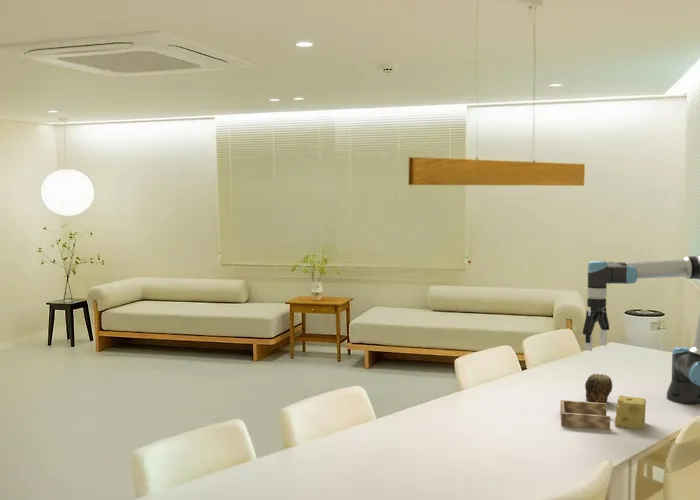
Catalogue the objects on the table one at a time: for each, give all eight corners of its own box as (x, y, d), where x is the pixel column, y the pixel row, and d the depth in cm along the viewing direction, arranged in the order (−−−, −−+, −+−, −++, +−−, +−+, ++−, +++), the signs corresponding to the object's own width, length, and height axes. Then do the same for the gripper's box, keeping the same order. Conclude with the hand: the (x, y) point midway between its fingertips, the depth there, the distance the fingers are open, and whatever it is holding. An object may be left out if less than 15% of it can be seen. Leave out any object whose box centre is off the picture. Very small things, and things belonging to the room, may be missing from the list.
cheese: (614, 426, 272) (615, 401, 271) (618, 418, 282) (619, 394, 281) (643, 430, 267) (644, 404, 266) (646, 422, 277) (647, 397, 276)
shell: (607, 406, 297) (608, 378, 296) (581, 402, 304) (582, 374, 303) (615, 400, 306) (615, 373, 305) (589, 396, 312) (590, 369, 312)
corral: (606, 415, 285) (606, 403, 285) (609, 429, 268) (610, 417, 267) (560, 411, 290) (560, 399, 290) (561, 425, 273) (561, 413, 272)
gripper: (601, 293, 305) (600, 341, 307) (574, 300, 287) (573, 351, 289) (618, 295, 300) (617, 344, 302) (592, 301, 282) (591, 354, 284)
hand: (595, 347), depth 295 cm, fingers open, 13 cm apart
